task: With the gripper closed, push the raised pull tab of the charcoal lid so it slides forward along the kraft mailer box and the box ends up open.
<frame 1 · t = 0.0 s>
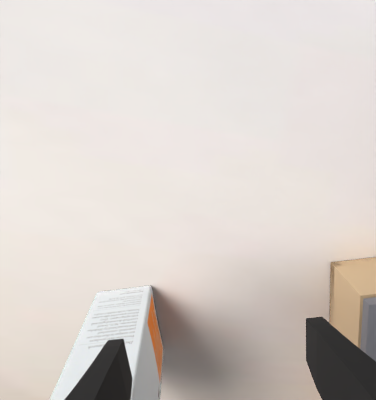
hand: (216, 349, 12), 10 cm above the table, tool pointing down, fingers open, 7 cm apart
skincare box: (132, 317, 24), on the table
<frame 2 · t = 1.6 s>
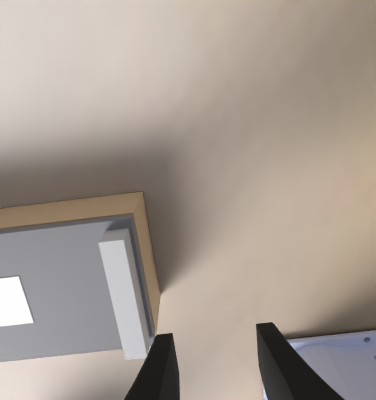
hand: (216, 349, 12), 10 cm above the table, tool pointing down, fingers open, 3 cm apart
mailer box: (52, 257, 22), on the table
lid: (14, 305, 17), point 5 cm above the table, slide at 0.0 cm
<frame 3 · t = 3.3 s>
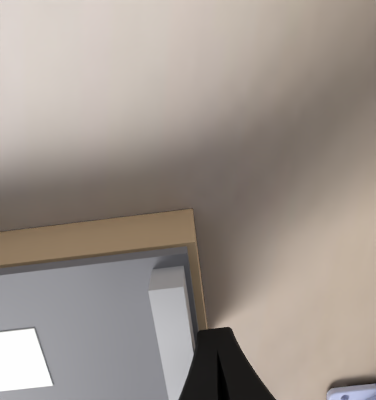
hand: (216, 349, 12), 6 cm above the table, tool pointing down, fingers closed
mailer box: (78, 289, 18), on the table
lid: (28, 366, 13), point 5 cm above the table, slide at 0.3 cm, touching gripper
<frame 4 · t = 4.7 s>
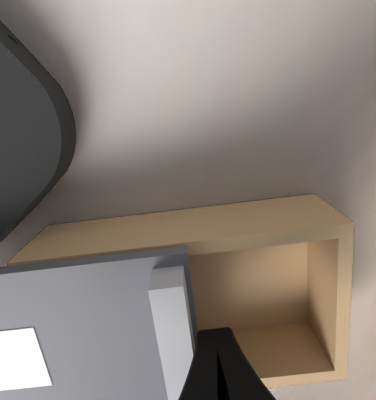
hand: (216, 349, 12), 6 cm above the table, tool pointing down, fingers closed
mailer box: (188, 276, 18), on the table
lid: (27, 365, 13), point 5 cm above the table, slide at 6.7 cm, touching gripper
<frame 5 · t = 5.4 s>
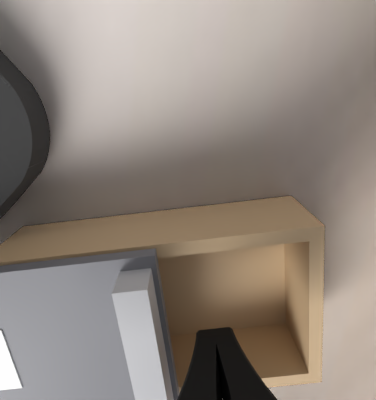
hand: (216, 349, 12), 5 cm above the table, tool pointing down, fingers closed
mailer box: (166, 278, 18), on the table
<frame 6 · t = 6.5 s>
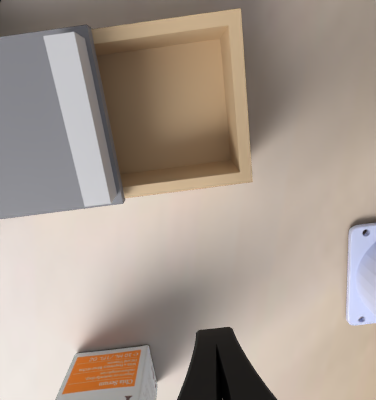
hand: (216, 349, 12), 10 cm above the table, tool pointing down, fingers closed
mailer box: (119, 116, 19), on the table
skincare box: (116, 365, 25), on the table
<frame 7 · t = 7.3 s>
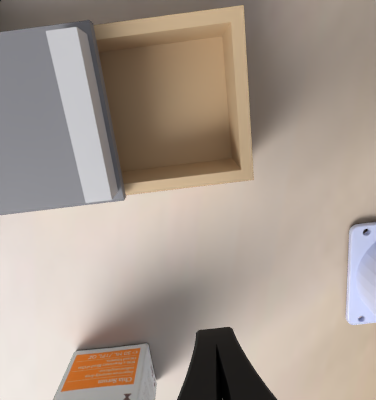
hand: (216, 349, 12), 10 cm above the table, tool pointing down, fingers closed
mailer box: (120, 113, 19), on the table
skincare box: (116, 363, 25), on the table
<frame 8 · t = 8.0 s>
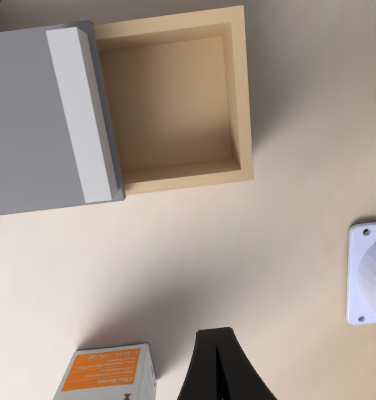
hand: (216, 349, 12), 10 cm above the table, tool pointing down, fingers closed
mailer box: (120, 113, 19), on the table
skincare box: (116, 363, 25), on the table
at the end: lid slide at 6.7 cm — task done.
